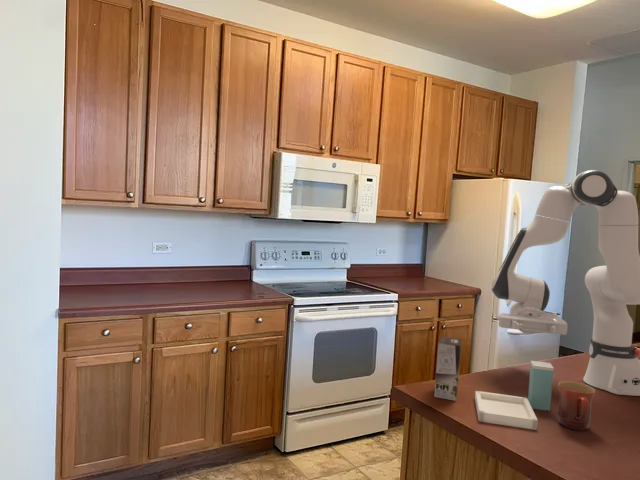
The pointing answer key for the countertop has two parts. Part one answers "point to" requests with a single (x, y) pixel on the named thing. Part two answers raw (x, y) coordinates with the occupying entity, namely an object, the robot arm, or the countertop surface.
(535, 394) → the tea tin
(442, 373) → the coffee box
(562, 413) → the mug
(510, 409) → the tray
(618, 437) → the countertop surface
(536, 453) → the countertop surface
